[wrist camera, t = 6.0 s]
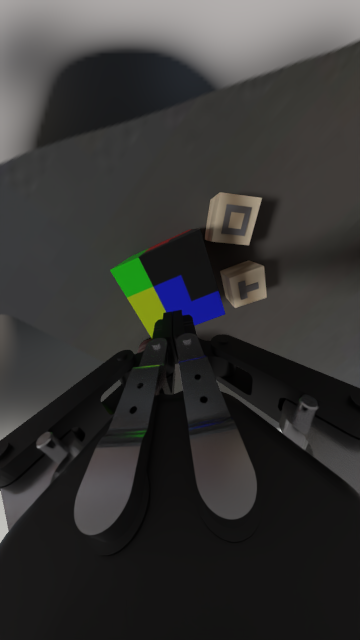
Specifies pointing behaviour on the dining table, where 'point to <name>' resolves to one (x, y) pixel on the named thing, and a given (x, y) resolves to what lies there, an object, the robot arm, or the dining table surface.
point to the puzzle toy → (171, 280)
